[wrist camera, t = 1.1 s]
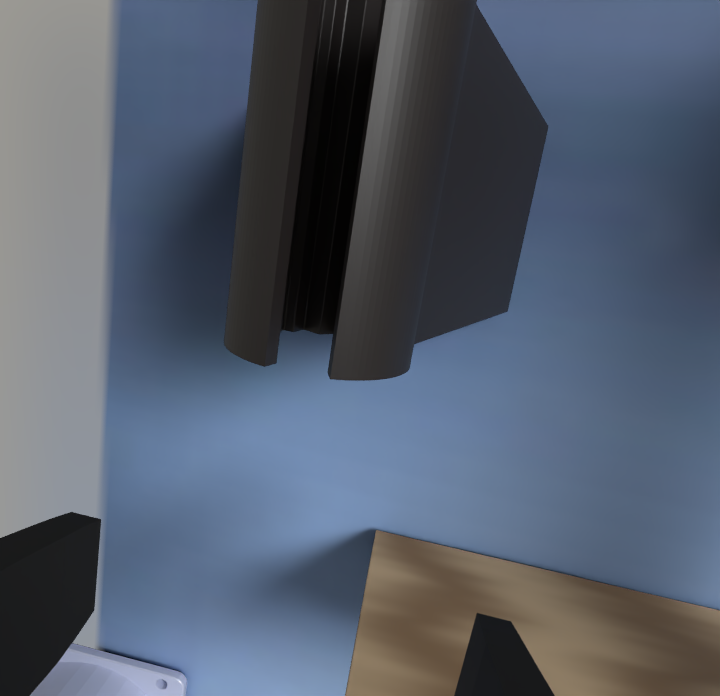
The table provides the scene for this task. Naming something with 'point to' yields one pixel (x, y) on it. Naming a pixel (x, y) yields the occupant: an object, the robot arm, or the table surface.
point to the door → (523, 627)
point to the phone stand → (378, 180)
